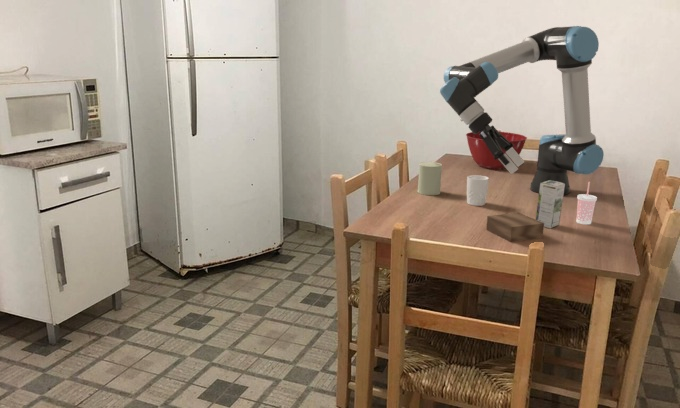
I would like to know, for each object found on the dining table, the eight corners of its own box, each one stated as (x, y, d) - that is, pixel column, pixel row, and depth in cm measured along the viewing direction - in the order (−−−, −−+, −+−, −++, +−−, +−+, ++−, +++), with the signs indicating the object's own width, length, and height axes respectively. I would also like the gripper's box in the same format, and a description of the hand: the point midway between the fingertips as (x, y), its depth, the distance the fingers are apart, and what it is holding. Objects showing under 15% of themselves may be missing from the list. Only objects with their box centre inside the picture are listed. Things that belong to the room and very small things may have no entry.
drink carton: (543, 221, 186) (548, 179, 182) (559, 225, 182) (565, 182, 178) (534, 224, 183) (539, 182, 179) (551, 229, 178) (557, 185, 175)
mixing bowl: (531, 173, 259) (535, 140, 255) (470, 172, 259) (473, 139, 255) (514, 161, 286) (517, 131, 282) (458, 160, 287) (461, 130, 282)
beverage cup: (581, 218, 190) (586, 178, 186) (597, 223, 185) (603, 182, 181) (569, 221, 187) (575, 180, 183) (586, 226, 182) (592, 184, 178)
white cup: (482, 207, 202) (485, 180, 199) (462, 204, 206) (464, 178, 203) (489, 202, 208) (491, 176, 206) (469, 199, 212) (471, 174, 210)
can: (440, 196, 217) (442, 165, 214) (416, 194, 219) (418, 164, 216) (440, 190, 226) (442, 161, 223) (418, 188, 228) (419, 160, 224)
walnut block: (517, 227, 181) (518, 212, 180) (542, 238, 170) (544, 223, 169) (486, 231, 177) (487, 216, 176) (510, 243, 166) (511, 227, 165)
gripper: (475, 122, 197) (515, 168, 194) (458, 130, 175) (502, 182, 173) (492, 108, 193) (532, 154, 191) (476, 114, 171) (521, 167, 169)
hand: (518, 168), depth 182 cm, fingers open, 13 cm apart
